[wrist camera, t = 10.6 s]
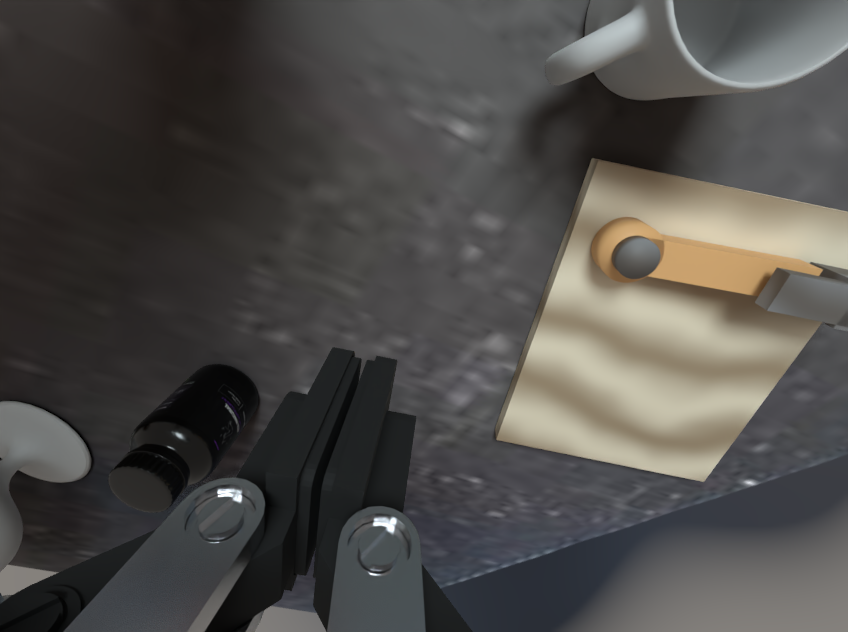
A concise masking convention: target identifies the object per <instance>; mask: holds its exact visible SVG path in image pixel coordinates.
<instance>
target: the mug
mask: <svg viewBox="0 0 848 632" xmlns="http://www.w3.org/2000/svg"><path fill="white" fill-rule="evenodd" d="M846 49H848V0H590V3H589V7H588V11H587V16H586V22H585V37H583V38H581V39H579V40H578V41H576V42H574V43H572V44H570V45H568V46H567V47H565V48H563V49H561V50H559V51H558V52H556V53H554V54H553V55H551V56H550V57H549V58H548V59H547V61H546V63H545V74H546V77H547V80H548V81H549V83H550V84H551V85H554V86H558V85H562V84H565V83H568V82H571V81H573V80H576V79H578V78H580V77H583V76H585V75H587V74H589V73H592V72H594V73H595V75H596V76H597V78H598V79H599V80H600V81H601V83H602V84H603V85H604V86H605V87H607V88H608V89H609V90H610V91H612V92H614V93H615V94H617V95H619V96H622V97H625V98H628V99H633V100H657V99H665V98H675V97H689V96H704V95H718V94H733V93H745V92H755V91H762V90H766V89H771V88H775V87H779V86H782V85H785V84H787V83H790V82H793V81H796V80H798V79H800V78H802V77H804V76H806V75H808V74H810V73H812V72H814V71H816V70H817V69H819V68H821V67H822V66H824V65H826V64H827V63H829V62H830V61H832V60H833V59H834V58H836V57H837V56H838V55H840V54H841V53H843V52H844V51H845V50H846Z"/></svg>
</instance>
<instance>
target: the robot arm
mask: <svg viewBox="0 0 848 632" xmlns="http://www.w3.org/2000/svg"><path fill="white" fill-rule="evenodd" d="M396 365H397V360H395V359H390V358H385V357H380V356H376V359H375V361H371V360H367V362H366V364H365V367H364V370H363V373H362V375H361V378H360V381H359V375H360V368H361V358H356V357H355V352H354V351H350V350H345V349H340V348H335V347H333V348H332V350H331V351H330V353H329V355H328V357H327V359H326V361H325V363H324V364H323V366H322V368H321V370H320V372H319V374H318V376H317V377H316V379H315V381H314V383H313V385H312V387H311V389H310V391H309V392H308V394H307V395H306V394H301V393H296V392H289V393H288V394H287V395H286V397H285V398H284V400H283V401H282V403H281V405H280V406H279V408H278V410H277V411H276V413H275V415H274V416H273V418H272V419H271V421H270V423H269V424H268V426H267V428H266V429H265V431H264V433H263V434H262V436H261V438H260V439H259V441H258V442H257V444H256V446H255V447H254V449H253V451H252V452H251V454H250V456H249V457H248V459H247V461H246V462H245V464H244V465H243V467H242V469H241V470H240V472H239V474H238V475H237V477H236V478H235V477H234V478H221V479H218V480H214V481H211V482H208V483H206V484H204V485H202V486H201V487H199V488H197V489H195V490H194V491H193V492H192V493H191V494H189V495H188V496H187V497H186V498H185V499H184V500H183V501H182V502H181V503H180V504H179V505H178V506H177V507H176V509H175V510H174V511H173V512H172V513H171V514H170V515H169V516H168V517H167V518H166V520H165V521H164V522H163V523H162V524H161V525H160V526H159V527H158V528H157V529H156V530H154V531H152V532H149V533H147V534H145V535H143V536H140V537H138V538H136V539H134V540H131V541H129V542H127V543H125V544H122V545H120V546H118V547H116V548H113V549H111V550H109V551H107V552H104V553H102V554H100V555H98V556H95V557H93V558H91V559H89V560H86V561H84V562H82V563H80V564H77V565H75V566H73V567H71V568H68V569H66V570H64V571H62V572H59V573H57V574H55V575H53V576H50V577H48V578H46V579H44V580H42V581H39V582H38V583H35V584H32V585H30V586H29V587H27V588H25V589H23V590H21V591H20V592H17V593H16V594H14V595H7V596H2V595H1V593H0V632H255V630H256V628H257V626H258V624H259V622H260V620H261V618H262V615H263V612H264V610H265V609H266V608H268V607H270V606H271V605H273V604H274V603H276V602H277V601H279V600H280V599H281V598H282V595H283V592H284V590H290V591H292V588H293V585H294V582H295V579H296V577H297V574H299V575H304V576H306V574H307V572H308V569H309V566H310V563H311V560H312V557H313V554H314V551H315V548H316V551H315V562H314V573H313V577H314V578H316V582H315V592H314V602H313V606H314V608H315V610H316V612H317V614H318V616H319V618H320V620H321V622H322V624H323V625H324V627H325V629H326V632H472V630H471V629H470V628H469V626H468V625H467V624H466V622H465V621H464V620H463V618H462V617H461V616H460V614H459V613H458V612H457V610H456V609H455V608H454V606H453V605H452V604H451V602H450V601H449V600H448V598H447V597H446V596H445V594H444V593H443V592H442V590H441V589H440V588H439V586H438V585H437V584H436V582H435V581H434V580H433V578H432V577H431V576H430V574H429V573H428V572H427V570H426V569H425V568H424V566H423V565H422V563H421V546H420V540H419V536H418V532H417V530H416V528H415V527H414V525H413V523H412V522H411V521H410V520H409V519H408V518H407V517H406V516H405V515H404V514H403V507H404V500H405V493H406V486H407V479H408V472H409V465H410V458H411V451H412V444H413V437H414V430H415V422H416V416H412V415H407V414H402V413H397V412H392V411H388V409H389V404H390V398H391V393H392V387H393V382H394V376H395V371H396Z"/></svg>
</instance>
